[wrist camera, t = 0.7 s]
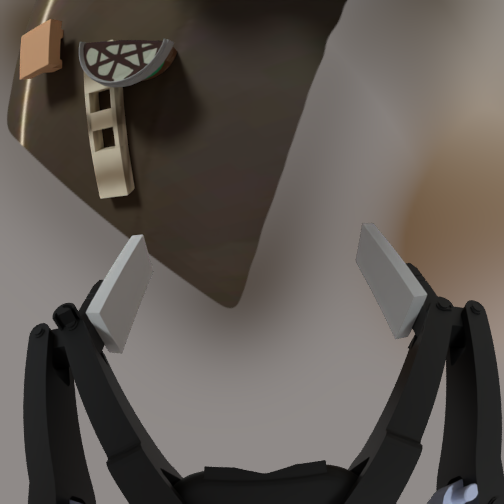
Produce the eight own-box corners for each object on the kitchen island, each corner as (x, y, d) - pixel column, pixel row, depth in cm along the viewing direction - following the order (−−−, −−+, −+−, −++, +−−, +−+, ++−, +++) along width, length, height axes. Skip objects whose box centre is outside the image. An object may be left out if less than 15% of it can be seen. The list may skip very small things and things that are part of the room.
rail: (93, 51, 26) (83, 49, 24) (121, 42, 26) (113, 39, 24) (108, 191, 39) (100, 198, 37) (134, 188, 39) (127, 195, 37)
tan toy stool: (44, 38, 23) (21, 36, 17) (73, 24, 23) (50, 18, 17) (44, 77, 27) (19, 79, 21) (72, 65, 27) (48, 64, 21)
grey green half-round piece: (103, 86, 30) (67, 88, 22) (111, 50, 27) (76, 42, 19) (177, 92, 32) (156, 90, 24) (187, 52, 29) (169, 38, 21)
